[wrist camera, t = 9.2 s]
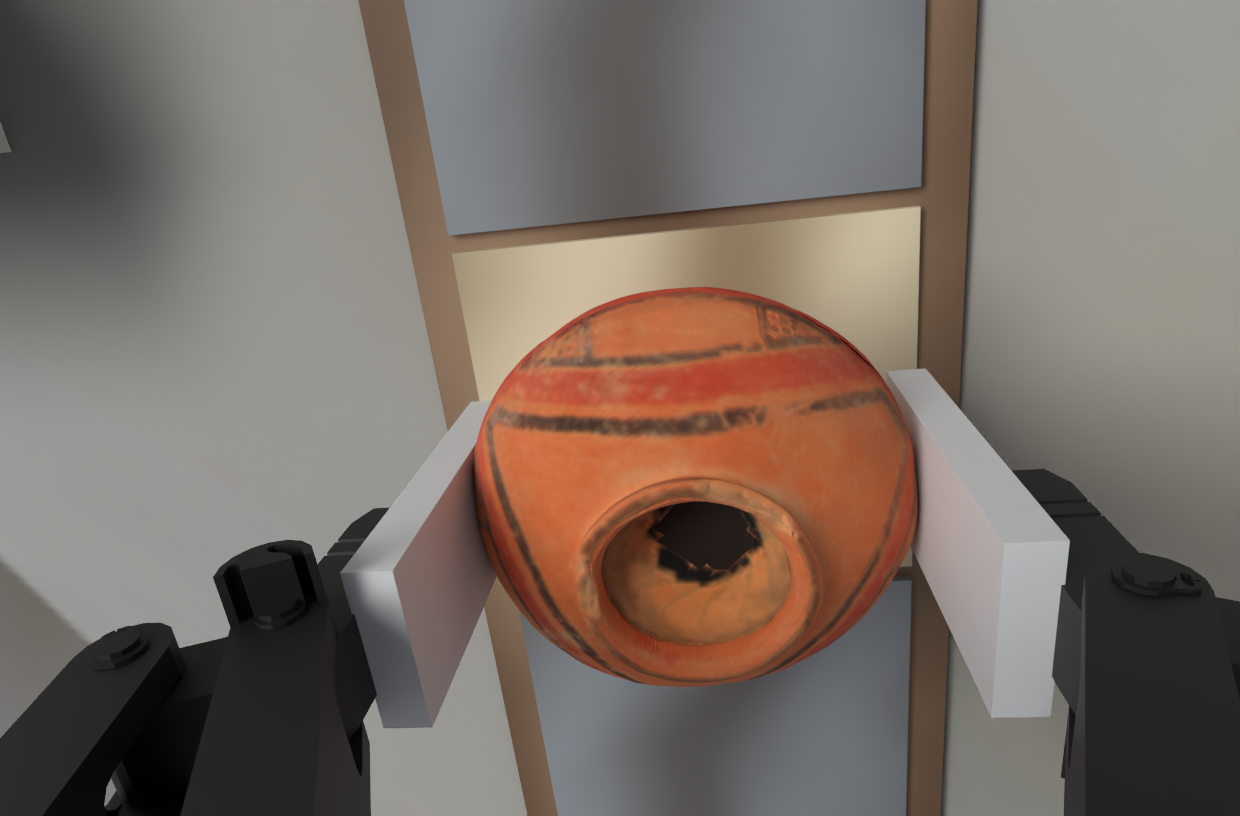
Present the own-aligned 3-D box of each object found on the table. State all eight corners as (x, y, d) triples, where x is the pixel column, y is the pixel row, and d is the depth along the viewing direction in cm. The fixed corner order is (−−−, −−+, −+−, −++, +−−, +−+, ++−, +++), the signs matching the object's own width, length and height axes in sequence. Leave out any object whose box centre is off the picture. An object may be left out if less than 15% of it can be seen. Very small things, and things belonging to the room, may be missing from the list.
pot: (619, 150, 15) (690, 254, 9) (895, 355, 18) (1090, 536, 12) (410, 455, 17) (357, 695, 11) (681, 591, 20) (751, 839, 14)
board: (1035, -1359, 10) (1048, -1415, 9) (937, 842, 23) (940, 854, 22) (145, -1053, 11) (125, -1093, 11) (535, 841, 24) (532, 853, 24)
